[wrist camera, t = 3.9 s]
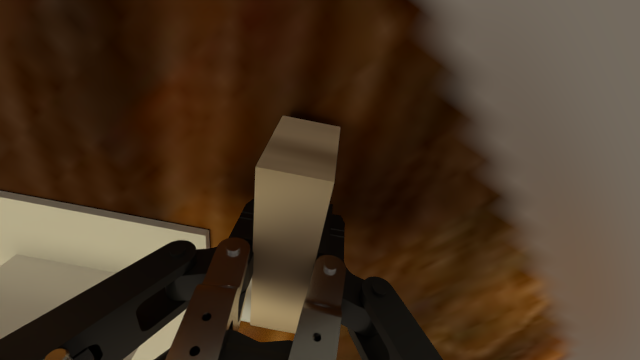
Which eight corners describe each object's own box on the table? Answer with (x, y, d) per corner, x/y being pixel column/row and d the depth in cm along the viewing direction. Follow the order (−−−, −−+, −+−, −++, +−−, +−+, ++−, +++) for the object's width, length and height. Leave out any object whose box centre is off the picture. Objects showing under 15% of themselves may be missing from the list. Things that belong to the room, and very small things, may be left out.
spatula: (230, 105, 12) (184, 152, 9) (392, 137, 12) (405, 196, 9) (235, 311, 22) (214, 369, 19) (324, 328, 22) (319, 388, 19)
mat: (-60, 179, 17) (-71, 183, 16) (209, 230, 17) (205, 235, 17) (44, 342, 26) (39, 348, 26) (216, 374, 26) (214, 380, 26)
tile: (16, 254, 19) (-210, 421, 11) (164, 282, 19) (40, 466, 11) (27, 274, 20) (-172, 440, 12) (168, 300, 20) (57, 480, 13)
